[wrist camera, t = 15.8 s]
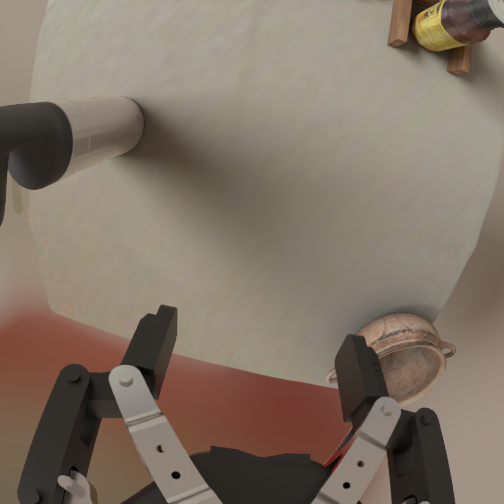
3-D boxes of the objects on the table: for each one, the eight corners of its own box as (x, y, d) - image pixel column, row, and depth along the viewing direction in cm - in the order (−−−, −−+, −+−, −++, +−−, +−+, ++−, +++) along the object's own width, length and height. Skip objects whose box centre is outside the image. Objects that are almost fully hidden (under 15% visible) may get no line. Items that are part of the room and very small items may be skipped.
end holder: (387, 44, 31) (398, 38, 27) (395, -12, 26) (405, -22, 22) (453, 74, 31) (468, 73, 27) (459, 19, 26) (473, 14, 22)
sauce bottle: (429, 11, 26) (506, -23, 9) (450, 47, 29) (535, 32, 11) (398, 21, 28) (469, -20, 11) (419, 58, 31) (503, 40, 13)
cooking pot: (446, 282, 46) (475, 324, 36) (433, 353, 54) (450, 395, 43) (317, 307, 51) (323, 359, 40) (325, 375, 59) (329, 422, 48)
